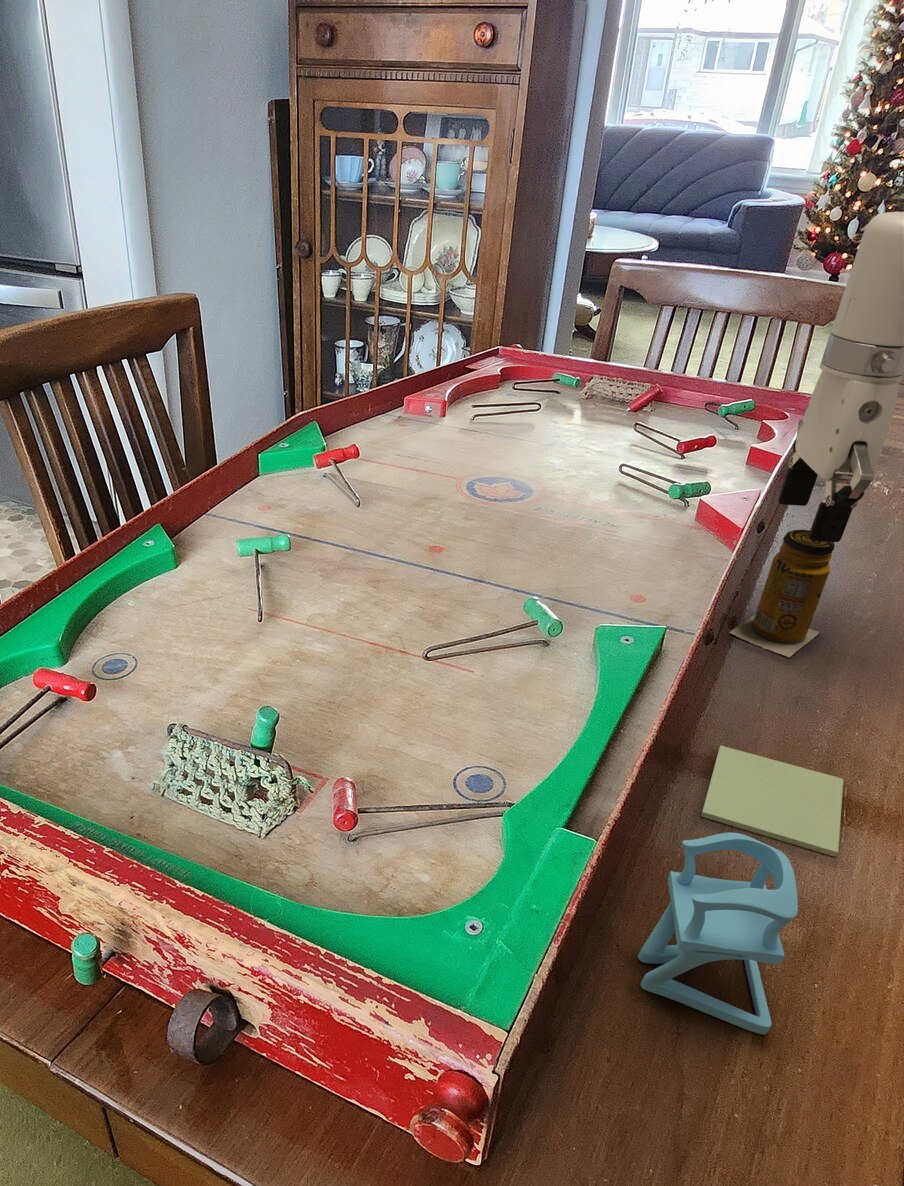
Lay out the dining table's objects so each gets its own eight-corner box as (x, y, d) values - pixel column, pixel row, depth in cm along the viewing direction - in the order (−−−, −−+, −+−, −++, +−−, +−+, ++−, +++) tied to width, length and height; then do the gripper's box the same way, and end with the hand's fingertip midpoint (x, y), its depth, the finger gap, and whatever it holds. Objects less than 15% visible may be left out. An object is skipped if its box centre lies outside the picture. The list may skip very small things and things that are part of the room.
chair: (634, 931, 68) (670, 810, 61) (749, 948, 67) (798, 827, 60) (643, 1016, 62) (683, 892, 55) (769, 1036, 61) (827, 912, 54)
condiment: (819, 633, 107) (853, 539, 100) (788, 658, 102) (823, 561, 95) (760, 611, 111) (789, 519, 104) (728, 635, 106) (756, 539, 99)
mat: (718, 749, 87) (720, 744, 87) (841, 783, 84) (843, 778, 83) (700, 816, 79) (702, 811, 79) (836, 857, 75) (838, 852, 75)
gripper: (945, 384, 82) (874, 558, 92) (867, 338, 96) (813, 494, 106) (862, 379, 82) (799, 553, 92) (796, 334, 96) (748, 489, 106)
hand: (807, 521), depth 99 cm, fingers open, 9 cm apart
